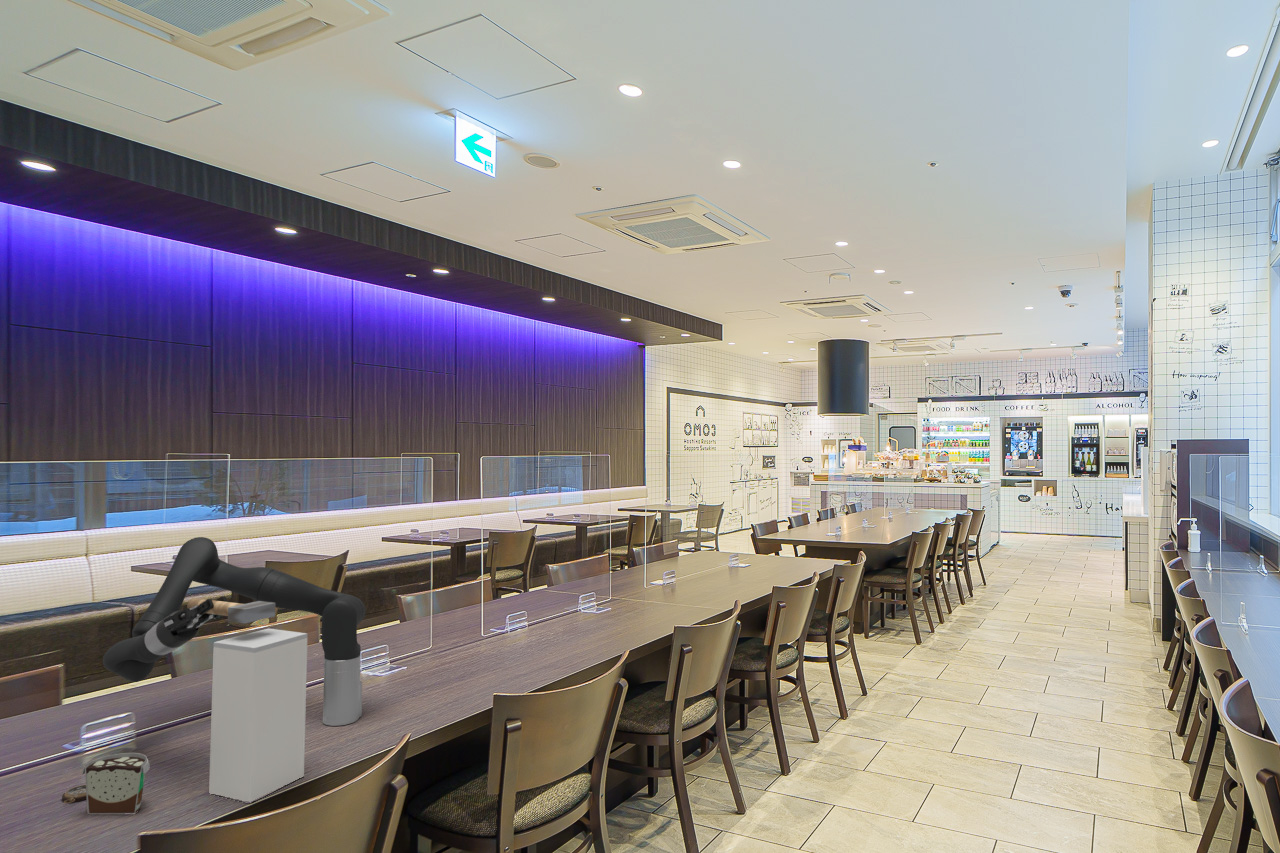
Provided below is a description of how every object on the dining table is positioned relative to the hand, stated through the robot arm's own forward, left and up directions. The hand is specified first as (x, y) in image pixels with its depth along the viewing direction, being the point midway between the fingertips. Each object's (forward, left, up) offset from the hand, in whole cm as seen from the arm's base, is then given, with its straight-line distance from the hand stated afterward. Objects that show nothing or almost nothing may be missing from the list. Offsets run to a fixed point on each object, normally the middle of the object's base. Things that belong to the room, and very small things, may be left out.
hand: (218, 601), depth 169 cm
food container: (+18, -3, -39) cm, 43 cm away
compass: (+18, -15, -39) cm, 46 cm away
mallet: (0, +3, -3) cm, 4 cm away
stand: (0, +14, -39) cm, 41 cm away
